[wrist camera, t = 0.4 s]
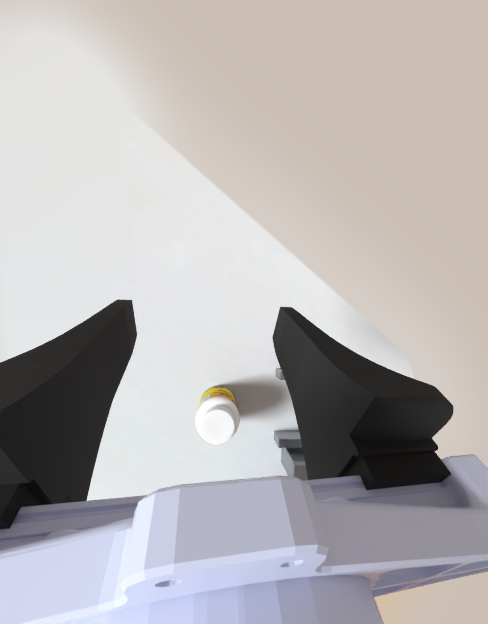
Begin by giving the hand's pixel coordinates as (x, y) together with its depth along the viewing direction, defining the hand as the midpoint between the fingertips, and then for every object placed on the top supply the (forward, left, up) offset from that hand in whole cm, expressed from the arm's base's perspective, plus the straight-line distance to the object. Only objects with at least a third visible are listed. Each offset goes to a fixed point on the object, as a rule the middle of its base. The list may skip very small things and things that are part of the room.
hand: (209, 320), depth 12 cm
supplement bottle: (-11, -1, -27) cm, 29 cm away
